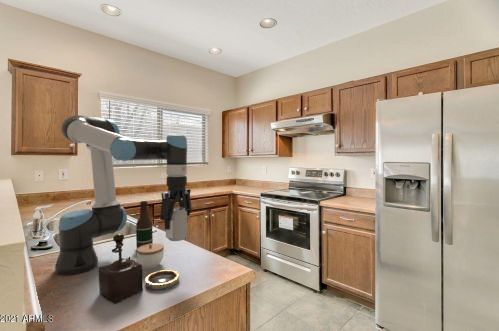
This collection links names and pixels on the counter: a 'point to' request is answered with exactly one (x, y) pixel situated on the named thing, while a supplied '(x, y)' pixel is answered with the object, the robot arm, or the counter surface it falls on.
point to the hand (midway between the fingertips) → (176, 234)
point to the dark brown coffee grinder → (120, 276)
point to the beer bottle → (144, 227)
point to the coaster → (162, 280)
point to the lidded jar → (150, 255)
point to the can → (179, 224)
